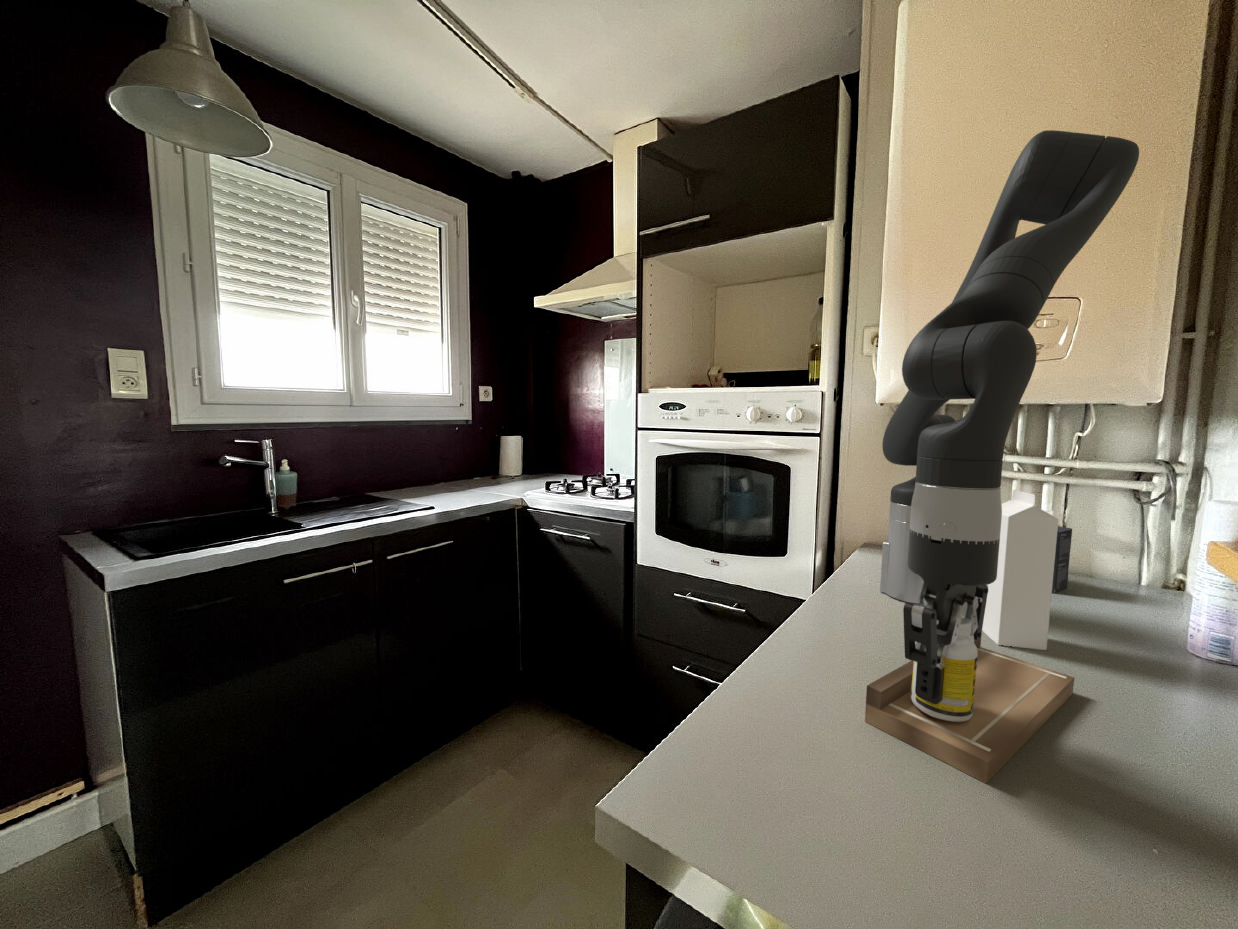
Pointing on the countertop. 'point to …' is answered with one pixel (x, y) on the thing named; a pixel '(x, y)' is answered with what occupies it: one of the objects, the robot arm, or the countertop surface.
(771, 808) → the countertop surface
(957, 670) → the supplement bottle
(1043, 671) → the board
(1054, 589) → the small box
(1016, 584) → the milk
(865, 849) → the countertop surface
